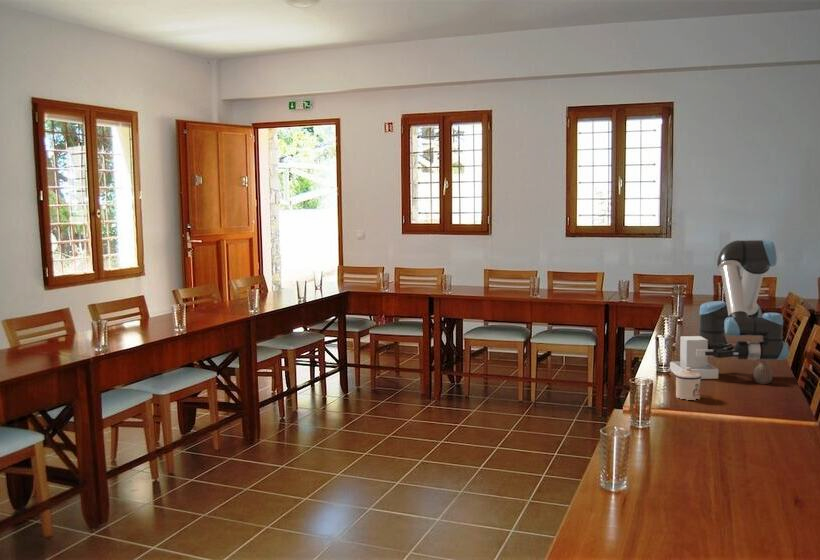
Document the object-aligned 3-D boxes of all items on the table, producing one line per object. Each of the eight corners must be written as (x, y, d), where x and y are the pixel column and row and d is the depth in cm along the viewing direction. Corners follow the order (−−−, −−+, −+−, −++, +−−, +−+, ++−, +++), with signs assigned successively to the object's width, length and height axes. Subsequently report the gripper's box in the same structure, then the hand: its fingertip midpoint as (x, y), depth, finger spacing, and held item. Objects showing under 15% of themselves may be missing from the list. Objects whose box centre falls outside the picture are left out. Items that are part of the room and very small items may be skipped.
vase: (768, 380, 302) (769, 359, 301) (775, 385, 295) (775, 363, 294) (750, 380, 302) (751, 359, 301) (757, 385, 295) (757, 363, 294)
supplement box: (707, 374, 310) (708, 339, 309) (686, 375, 311) (686, 340, 309) (700, 369, 320) (701, 335, 318) (679, 370, 320) (680, 336, 318)
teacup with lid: (697, 402, 274) (698, 371, 273) (672, 399, 279) (672, 368, 278) (705, 394, 284) (705, 364, 282) (680, 391, 289) (680, 362, 287)
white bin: (669, 370, 322) (669, 361, 322) (704, 370, 322) (704, 361, 322) (681, 379, 307) (681, 369, 307) (718, 378, 307) (718, 369, 307)
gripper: (754, 365, 298) (698, 364, 302) (740, 352, 322) (688, 352, 326) (755, 347, 297) (699, 346, 301) (740, 335, 321) (688, 335, 325)
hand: (693, 349), depth 314 cm, fingers open, 13 cm apart
